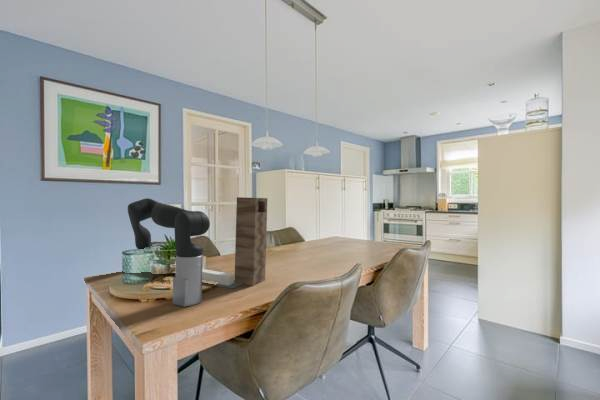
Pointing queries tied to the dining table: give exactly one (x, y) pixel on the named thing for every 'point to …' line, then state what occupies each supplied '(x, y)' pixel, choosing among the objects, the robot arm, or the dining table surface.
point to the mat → (230, 285)
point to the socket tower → (250, 240)
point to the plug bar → (218, 277)
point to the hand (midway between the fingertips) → (189, 261)
